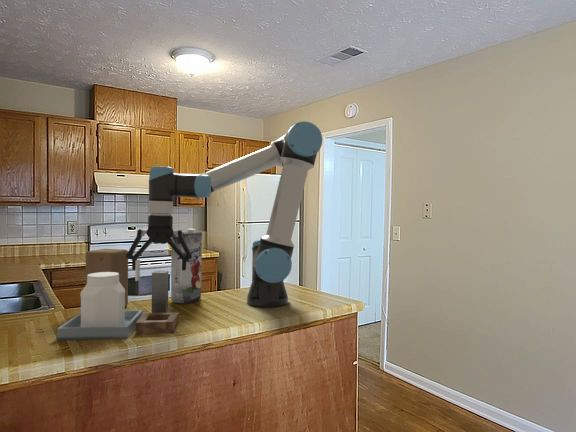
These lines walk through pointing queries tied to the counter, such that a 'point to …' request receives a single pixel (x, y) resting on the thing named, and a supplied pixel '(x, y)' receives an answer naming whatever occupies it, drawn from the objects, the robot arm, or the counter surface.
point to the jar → (103, 301)
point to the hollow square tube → (157, 323)
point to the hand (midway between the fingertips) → (159, 280)
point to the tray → (98, 328)
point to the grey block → (160, 292)
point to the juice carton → (187, 269)
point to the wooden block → (109, 265)
